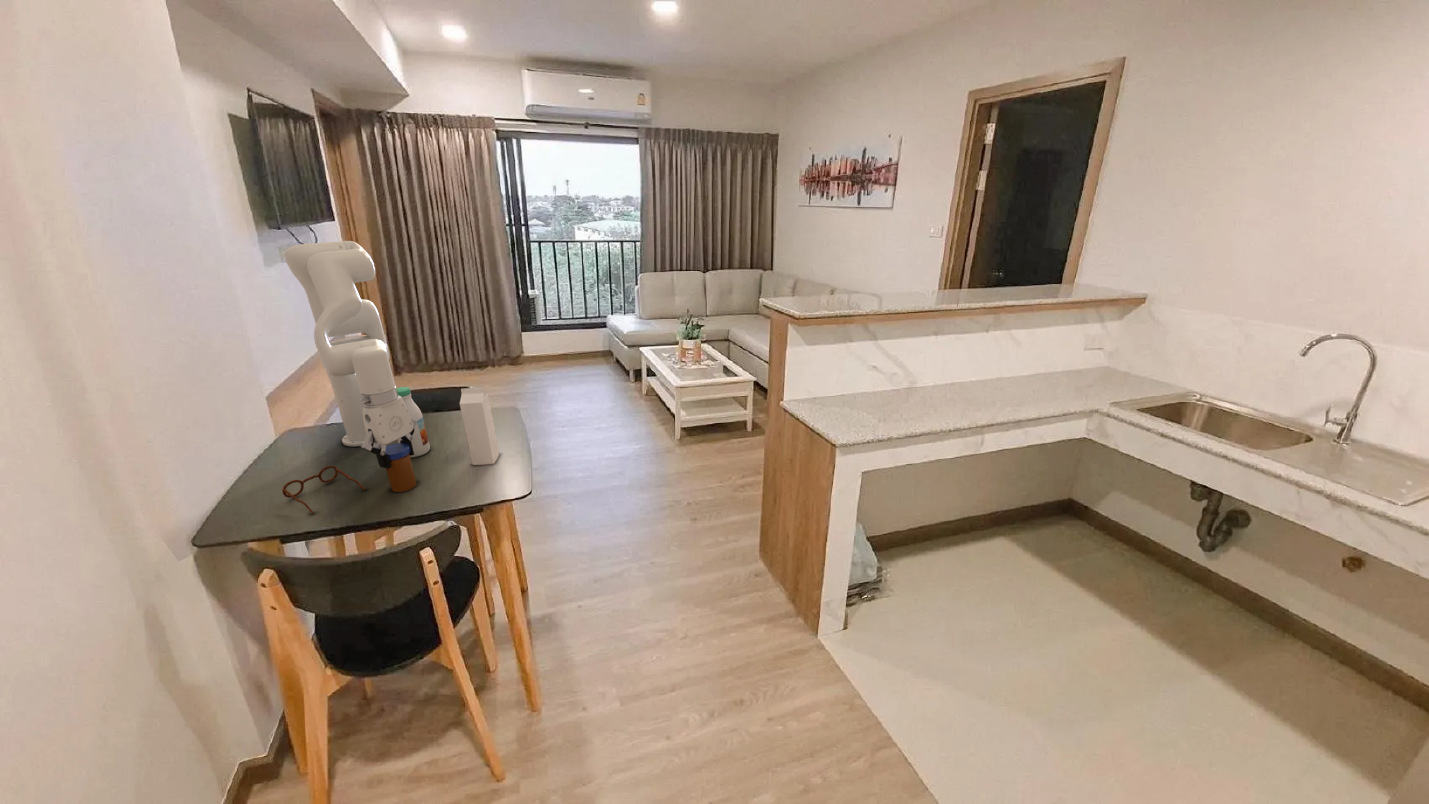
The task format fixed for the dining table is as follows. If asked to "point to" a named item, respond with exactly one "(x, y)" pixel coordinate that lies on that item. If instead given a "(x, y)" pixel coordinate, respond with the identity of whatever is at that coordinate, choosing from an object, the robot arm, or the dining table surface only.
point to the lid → (397, 450)
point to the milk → (479, 426)
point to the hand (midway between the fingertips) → (397, 460)
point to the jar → (401, 474)
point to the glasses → (312, 478)
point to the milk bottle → (420, 434)
